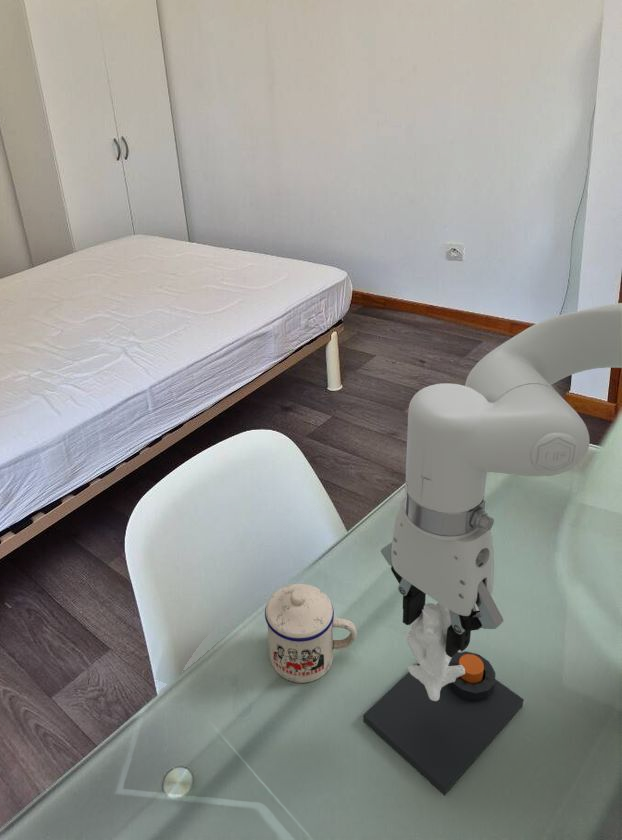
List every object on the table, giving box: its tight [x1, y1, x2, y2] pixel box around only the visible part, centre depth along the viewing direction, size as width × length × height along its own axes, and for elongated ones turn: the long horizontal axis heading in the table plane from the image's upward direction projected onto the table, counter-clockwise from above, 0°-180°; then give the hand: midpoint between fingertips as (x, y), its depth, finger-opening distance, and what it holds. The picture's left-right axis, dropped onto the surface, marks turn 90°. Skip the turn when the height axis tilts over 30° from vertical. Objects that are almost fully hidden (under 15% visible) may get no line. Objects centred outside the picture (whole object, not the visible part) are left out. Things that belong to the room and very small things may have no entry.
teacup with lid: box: [264, 583, 357, 684], centre depth 92 cm, size 12×9×12 cm
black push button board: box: [362, 650, 524, 796], centre depth 85 cm, size 16×12×3 cm
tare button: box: [459, 654, 484, 684], centre depth 87 cm, size 3×3×2 cm
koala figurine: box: [406, 602, 465, 701], centre depth 77 cm, size 8×7×12 cm
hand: (434, 631), depth 76 cm, fingers closed on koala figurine, 5 cm apart
